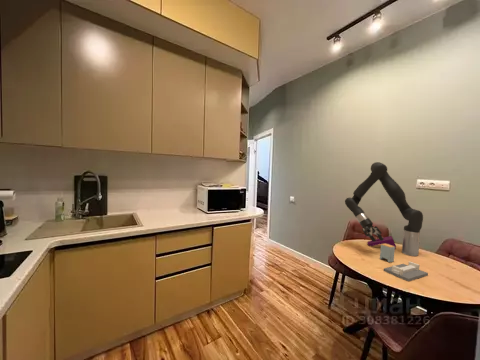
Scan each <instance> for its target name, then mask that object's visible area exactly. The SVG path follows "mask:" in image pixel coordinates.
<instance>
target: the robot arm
mask: <svg viewBox="0 0 480 360" xmlns="http://www.w3.org/2000/svg"><path fill="white" fill-rule="evenodd" d="M370 171H371V172H370V174H369V175H368V177H367V178H366V179H365V180H363V182H361V183H360V184H359V185H358V186H357V187H356V188H355V190H354V191H353V194H352V195H353V196H352V197H346V199H345V200H344V203H345V206H346V207H347V208H348V210H350V211H351V213H352V214H353V216H354V217H355V218H356V220H357V222H358V223H359V224H360V226H361V227H362V229H361V230H362V232H363V233H364V235H365V237H368V238H370V241H371V240H372V241H373V242H375V241H376V240H375V239H376V238H375V236H374V235H376V236H377V239H380V241H382V240H384V239H383V238H384V237H383V236H382V231H381V230H380V228H378V226H374V223H373V222H372V220H371V219H370V218H369V216H368V214H366V212H365V211H364V210H363V208H362V207H360V206H359V204H360V202H361V201H362V198H363V197H364V196H365V194H367V192H368V191H369V190H370V188H372V187H373V185H375V184H376V183H377V182H378V181H379V182H380V183H381V185H382V187H383V189H384V191H385V192H386V193H387V196H389V198H390V199H391V200H392V202H393V203H394V205H396V207H397V208H398V210H399V212H400V213H401V216H402V217H403V219H405V220H406V221H408V223H407V225H404V227H403V235H402V244H401V245H402V247H401V253H402V254H404V255H405V256H411V257H418V256H419V254H420V253H419V252H420V232H421V229H422V227H423V222H424V215H423V213H422V211H421V210H418V209H415V208H412V207H411V206H410V204H409V202H407V198H406V193H405V192H404V190H403V188H402V187H401V186H400V185H399V183H398V182H397V181H396V180H395V179H394V178H393V177H392V176H391V175H390V174H389V172H388V167H387V166H386V164H384V163H383V162H377V161H376V162H373V163H371V166H370Z"/></svg>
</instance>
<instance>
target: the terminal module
mask: <svg viewBox="0 0 480 360" xmlns="http://www.w3.org/2000/svg"><path fill="white" fill-rule="evenodd" d="M395 250H396V249H395V247H394V246H392V245H389V244H386V243H385V244H380V250H379V251H380V252H379V253H380V254H379V259H380V260H384V259H385V260H387V263H393V262H394V261H395V252H396V251H395Z"/></svg>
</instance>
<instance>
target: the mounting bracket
mask: <svg viewBox="0 0 480 360" xmlns="http://www.w3.org/2000/svg"><path fill="white" fill-rule="evenodd" d="M382 238H383V239H384V240H382V241H380V239H379V238H375V240H376V241H375V242H373V241H372V240H371V239H370V240H369V241H367V242H366V244H367V245H368V246H369V247H374V246H379V245H380V246H381V245H382V244H385V243H386V244H389V245H392V246H394V247H395V250H396V249H397V245H396V243H395V241H394V238H393V236H392V235H390V236H386V237H382Z"/></svg>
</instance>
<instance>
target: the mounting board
mask: <svg viewBox="0 0 480 360" xmlns="http://www.w3.org/2000/svg"><path fill="white" fill-rule="evenodd" d="M420 266H421V265H420V264H419V263H415V262H413V261H408V264H405V263H400V264H396V265H392V266H388V267H384V268H383V272H384V273H385V272H386V273H388V274H390V275H392V276H395V277H396V278H399V279H402V280H404V281H407V282H411V281H415V280H419V279H421V278H424V277H428V276H429V272H427V271H424V270H421V269H420Z"/></svg>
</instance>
